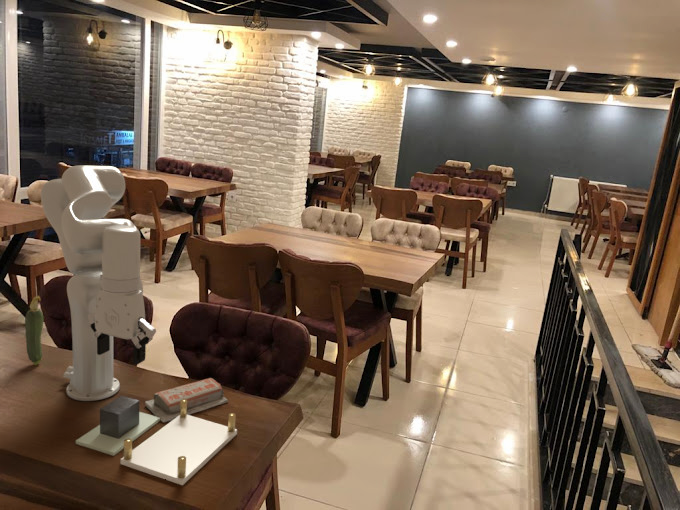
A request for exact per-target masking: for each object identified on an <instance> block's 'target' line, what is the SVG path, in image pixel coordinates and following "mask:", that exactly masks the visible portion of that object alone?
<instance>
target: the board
mask: <svg viewBox="0 0 680 510" xmlns="http://www.w3.org/2000/svg"><path fill="white" fill-rule="evenodd" d="M159 422H161V421H160V417H156V416H155V415H154V414H153V415H152V414H148V413H145V412H142V411H140V400H139V399H135V398H132V397H129V396H124V395H120V396H118V397H117V398H115V399H114V400H112V401H111V402H108V403H107V404H105V405H104V406H103V407H101V408H99V424H98V425H97V426H96V427H94V428H92V429H91V430H89V431H88V432H87V433H85V434H83V435H82V436H80V437H79V438H77V439H76V440H75V445H79V446H82V447H84V448H88V449H91V450H94V451H97V452H100V453H104V454H107V455H110V456H113V457H114V456H115V455H117V454H119V453H120V452H121V451H123V450H124V440H125V439H128V438H129V439H132V443H133V442H134V441H135V440H136V439H138V438H140V437H141V436H142V435H144V434H145V433H146V432H147V431H148V430H150V429H152V427H154V426H155V425H157V424H158V423H159Z"/></svg>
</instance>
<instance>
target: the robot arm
mask: <svg viewBox="0 0 680 510" xmlns="http://www.w3.org/2000/svg"><path fill="white" fill-rule="evenodd" d="M125 191H126V179H125V177H124V175H123V173H122V172H121V170H120V169H119V168H117V167H116V166H113V165H112V166H111V165H84V164H83V165H80V164H79V165H73V166H70V167H69V168H67V169H66V170H65V171H64V172H63V174H62V176H61V178H55V179H51V180H49V181H46V182H45V183H44V184H43V185H42V186H41V189H40V201H41V206H42V210H43V212H44V213H43V214H44V215H45V217H46V219H47V221H48V222H49V224H50V225H51V227H52V228H53V230H54V231H55V233H56V234H57V237H58V242H59V244H60V248H61V251H62V255H63V259H64V263H65V265H66V267H67V270H68V271H69V272H70V273H71V274H73V276H72V277H70V279H69V280H68V282H67V285H66V293H67V299H68V305H69V309H70V310H69V311H70V317H71V338H72V341H71V342H72V343H71V344H72V347H71V348H72V366H71V365H69V366H68V367H67V368H66V371H65V372H64V373H63V375H62V377H63V378H67V379H69V384H67V386H66V390H65V391H66V395H67V396H68V397H69V398H70V399H73V400H76V401H81V402H93V401H100V400H105V399H107V398H110V397H112V396H114V395H115V394H117V392H119V390H120V388H121V385H120V384H121V383H120V381H119V379H117V378H115V377H114V337H115V338H119V339H123V340H131V341H132V343H133V344H134V347H133V349H132V364H133V366H134V365H135V366H138V365H139V364H141V363H144V361H146V355H147V354H146V352H147V351H146V350H147V349H146V346H147V345H148V344H149V343H150V342H151V341H152V340H153V339H154V338H153V337H155V334H156V333H157V330H156V328H155V327H154V326H153V325H151V323H149V322H148V321H147V320H146V311H145V301H144V286H143V282H142V278H141V232H140V230H139V228H137V226H136V225H135V224H134V223H133V221H131V220H130V219H127V218H104V217H106V215H108V213H110V211H111V210H112V207H113V206H115V205H116V203H118V202H119V201H120V200H121V199H122V198H123V196H124V195H125Z"/></svg>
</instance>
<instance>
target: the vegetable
mask: <svg viewBox="0 0 680 510" xmlns="http://www.w3.org/2000/svg"><path fill="white" fill-rule="evenodd" d="M40 301H42V300H41V296H40V295H37V296H35V297H33V299H32V300H31V302H30V305H29V309H28V310H27V312H26V313H25V318H24V329H25V342H26V353H27V356H28V360H29V361H31V363H33V364H34V365H35V366H38V365H39V363H40V362H42V358H43V350H42V349H43V347H42V341H41V340H42V331H43V326H44V314H43V312H42V311H41V309H40V308H39V306H38V305H39V302H40Z"/></svg>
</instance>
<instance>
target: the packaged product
mask: <svg viewBox="0 0 680 510" xmlns="http://www.w3.org/2000/svg"><path fill="white" fill-rule="evenodd" d="M182 399H186V400H187V415H192V414H196V413H198V412H202V411H206V410H208V409H210V408H211V409H212V408H214V407H216V406H219V405H224V404H226V403H228V402H229V400H228V399H227V398H226V397H225V396H224V389H223V387H222V385H221V383H219V382H217V380H215V379H214V378H212V377H208V378H205V379H201V380H198V381H194V382H193V381H192V382H190V383H186V384H183V385H179V386H176V387H172V388H170V389H163V390H160V391H158V392H155V393H154V394H153V399H150V400H145V402H144V404H145V407H146V408H147V409H148V410H149V411H150V412H151V413H152V414H153V416H156V417H160V421H159V422H162V423H163V424H164V423H166V422H168V423H169V422H171V421H172V420H174V419H175V418H176V417H178V416H179V415H180V400H182Z"/></svg>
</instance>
